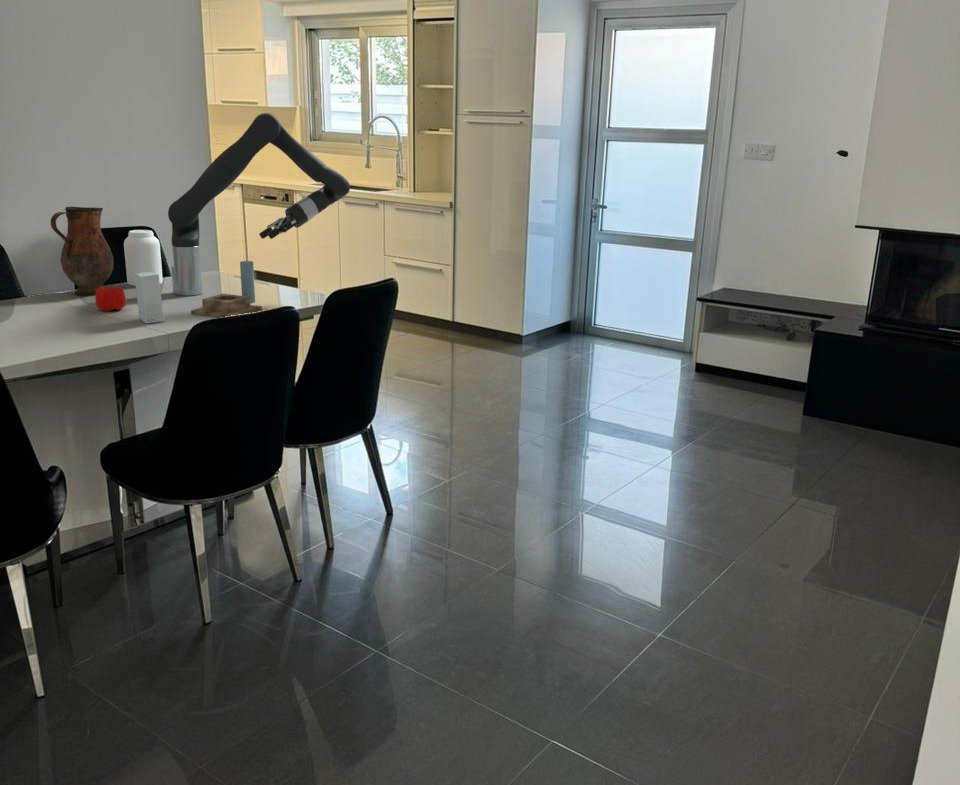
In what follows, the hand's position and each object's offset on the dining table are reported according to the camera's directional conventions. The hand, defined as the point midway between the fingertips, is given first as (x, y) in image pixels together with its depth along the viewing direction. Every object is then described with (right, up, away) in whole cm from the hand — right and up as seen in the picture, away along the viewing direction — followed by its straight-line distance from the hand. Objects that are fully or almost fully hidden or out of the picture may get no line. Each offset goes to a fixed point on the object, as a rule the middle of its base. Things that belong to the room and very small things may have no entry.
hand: (264, 236), depth 295 cm
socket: (-9, -27, -13) cm, 31 cm away
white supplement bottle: (-52, -13, +28) cm, 61 cm away
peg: (-6, -22, +2) cm, 23 cm away
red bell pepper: (-46, -27, -16) cm, 56 cm away
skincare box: (-28, -32, -28) cm, 51 cm away
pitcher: (-65, -19, +7) cm, 68 cm away
